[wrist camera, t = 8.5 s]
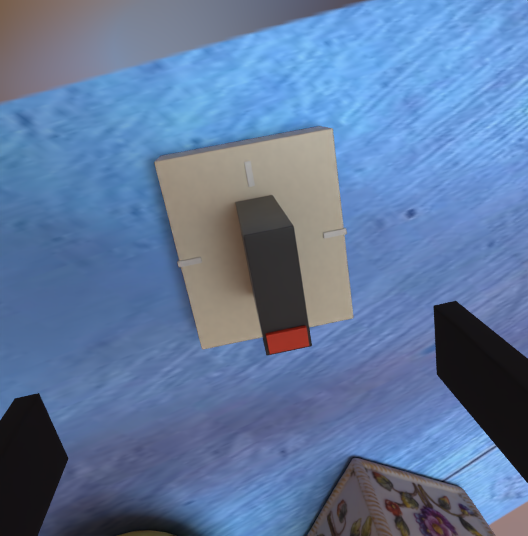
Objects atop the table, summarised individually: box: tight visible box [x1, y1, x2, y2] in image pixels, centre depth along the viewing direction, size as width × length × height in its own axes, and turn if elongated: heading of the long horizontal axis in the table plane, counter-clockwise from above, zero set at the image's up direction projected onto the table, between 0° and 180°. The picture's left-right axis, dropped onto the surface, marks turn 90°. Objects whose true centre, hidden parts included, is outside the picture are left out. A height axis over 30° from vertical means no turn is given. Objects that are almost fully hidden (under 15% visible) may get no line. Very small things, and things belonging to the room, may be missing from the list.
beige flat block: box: [154, 126, 353, 349], centre depth 28 cm, size 12×10×3 cm
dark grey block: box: [235, 195, 312, 355], centre depth 23 cm, size 6×2×7 cm, turn 10°
